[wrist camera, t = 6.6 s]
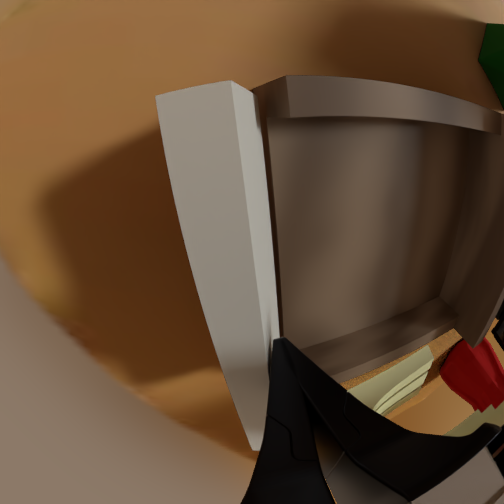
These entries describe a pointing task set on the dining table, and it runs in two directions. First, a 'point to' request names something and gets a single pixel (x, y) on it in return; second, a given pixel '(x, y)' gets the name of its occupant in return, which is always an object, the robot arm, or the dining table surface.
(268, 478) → the robot arm
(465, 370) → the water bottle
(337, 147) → the brown open box
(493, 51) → the milk carton
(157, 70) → the dining table surface
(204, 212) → the panel
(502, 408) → the slatted curved stool
